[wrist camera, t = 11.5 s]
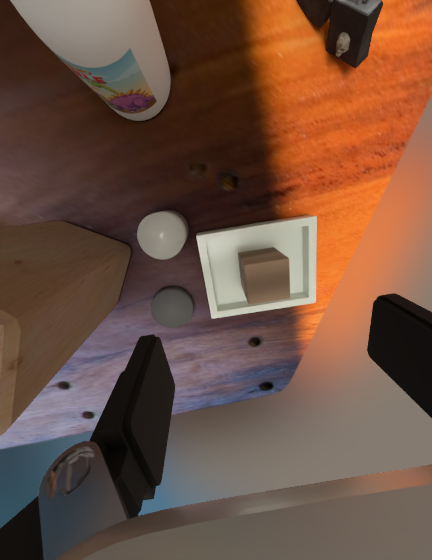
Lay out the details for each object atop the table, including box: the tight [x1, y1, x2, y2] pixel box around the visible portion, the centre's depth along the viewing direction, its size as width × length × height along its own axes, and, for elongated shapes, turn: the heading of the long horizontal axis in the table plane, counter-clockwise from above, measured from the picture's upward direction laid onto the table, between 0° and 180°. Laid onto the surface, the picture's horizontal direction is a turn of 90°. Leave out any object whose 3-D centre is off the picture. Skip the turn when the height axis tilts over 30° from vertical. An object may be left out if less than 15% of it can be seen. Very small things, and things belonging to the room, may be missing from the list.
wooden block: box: [0, 221, 131, 435], centre depth 21 cm, size 10×10×20 cm
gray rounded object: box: [151, 286, 194, 328], centre depth 32 cm, size 6×6×2 cm
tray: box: [196, 215, 317, 319], centre depth 30 cm, size 12×15×2 cm
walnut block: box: [238, 247, 290, 305], centre depth 28 cm, size 5×5×6 cm
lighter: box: [297, 0, 383, 68], centre depth 20 cm, size 9×2×6 cm
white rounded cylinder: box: [137, 210, 189, 259], centre depth 26 cm, size 5×5×6 cm
